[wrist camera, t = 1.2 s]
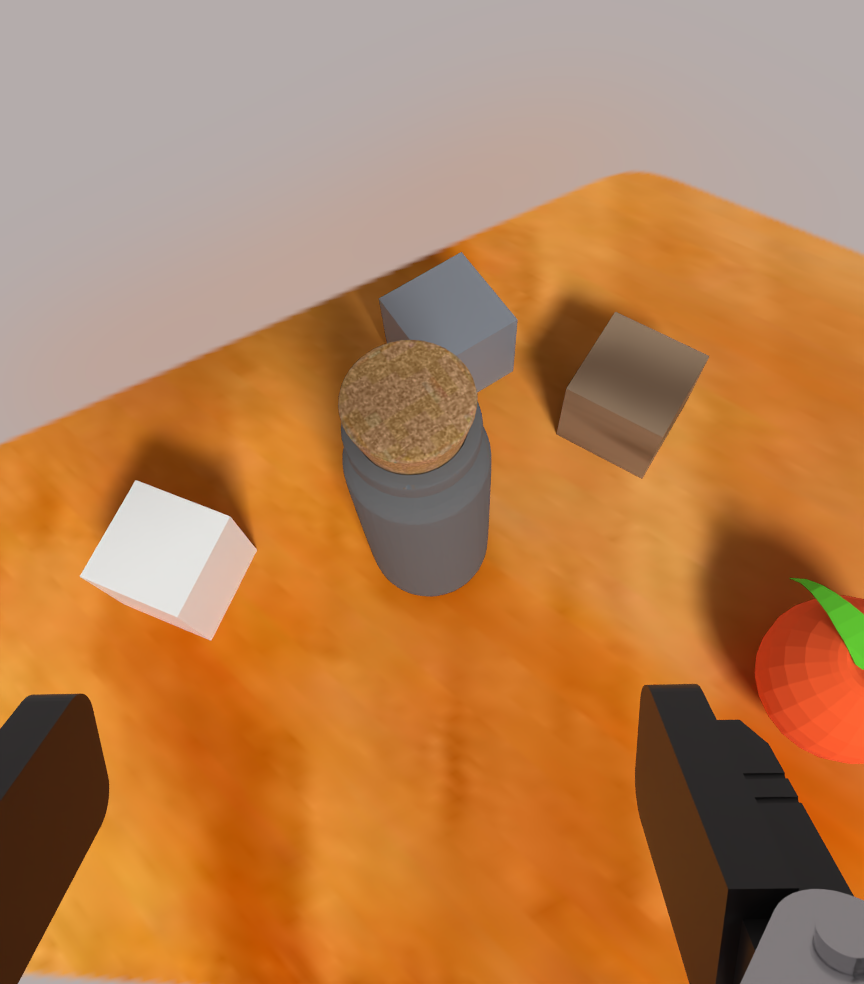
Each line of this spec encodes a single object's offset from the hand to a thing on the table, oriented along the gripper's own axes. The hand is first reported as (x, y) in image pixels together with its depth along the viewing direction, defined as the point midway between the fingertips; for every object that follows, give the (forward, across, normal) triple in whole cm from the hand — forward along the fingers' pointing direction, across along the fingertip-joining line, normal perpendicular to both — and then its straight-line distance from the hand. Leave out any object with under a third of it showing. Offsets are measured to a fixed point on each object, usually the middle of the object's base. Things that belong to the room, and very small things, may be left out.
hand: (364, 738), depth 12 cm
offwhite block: (+27, +12, +11) cm, 31 cm away
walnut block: (+32, -10, +5) cm, 34 cm away
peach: (+23, -17, +15) cm, 32 cm away
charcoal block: (+35, -1, +2) cm, 35 cm away
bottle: (+28, 0, +10) cm, 30 cm away
